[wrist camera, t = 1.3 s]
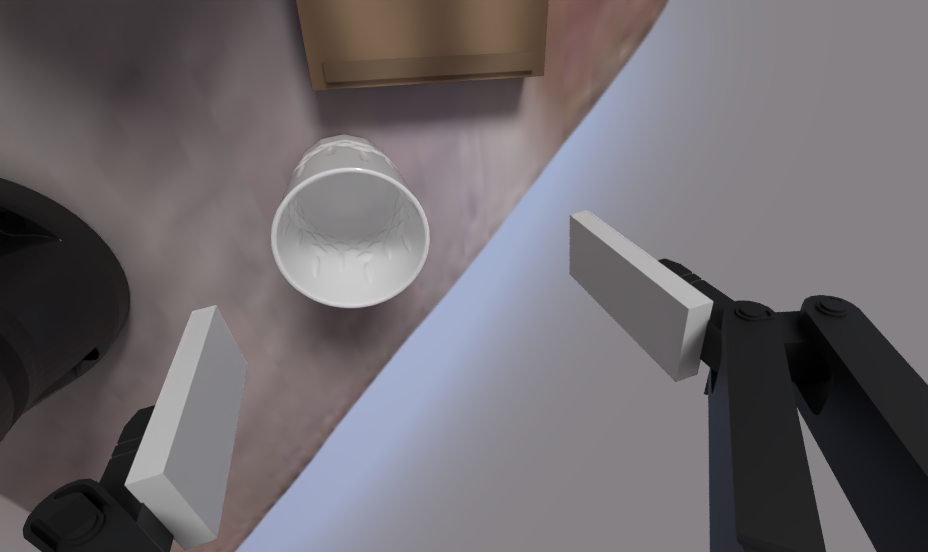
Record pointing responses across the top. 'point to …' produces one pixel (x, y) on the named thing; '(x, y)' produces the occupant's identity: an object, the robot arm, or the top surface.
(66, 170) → the top surface
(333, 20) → the tan flat block
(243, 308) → the top surface
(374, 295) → the white cup
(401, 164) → the top surface
